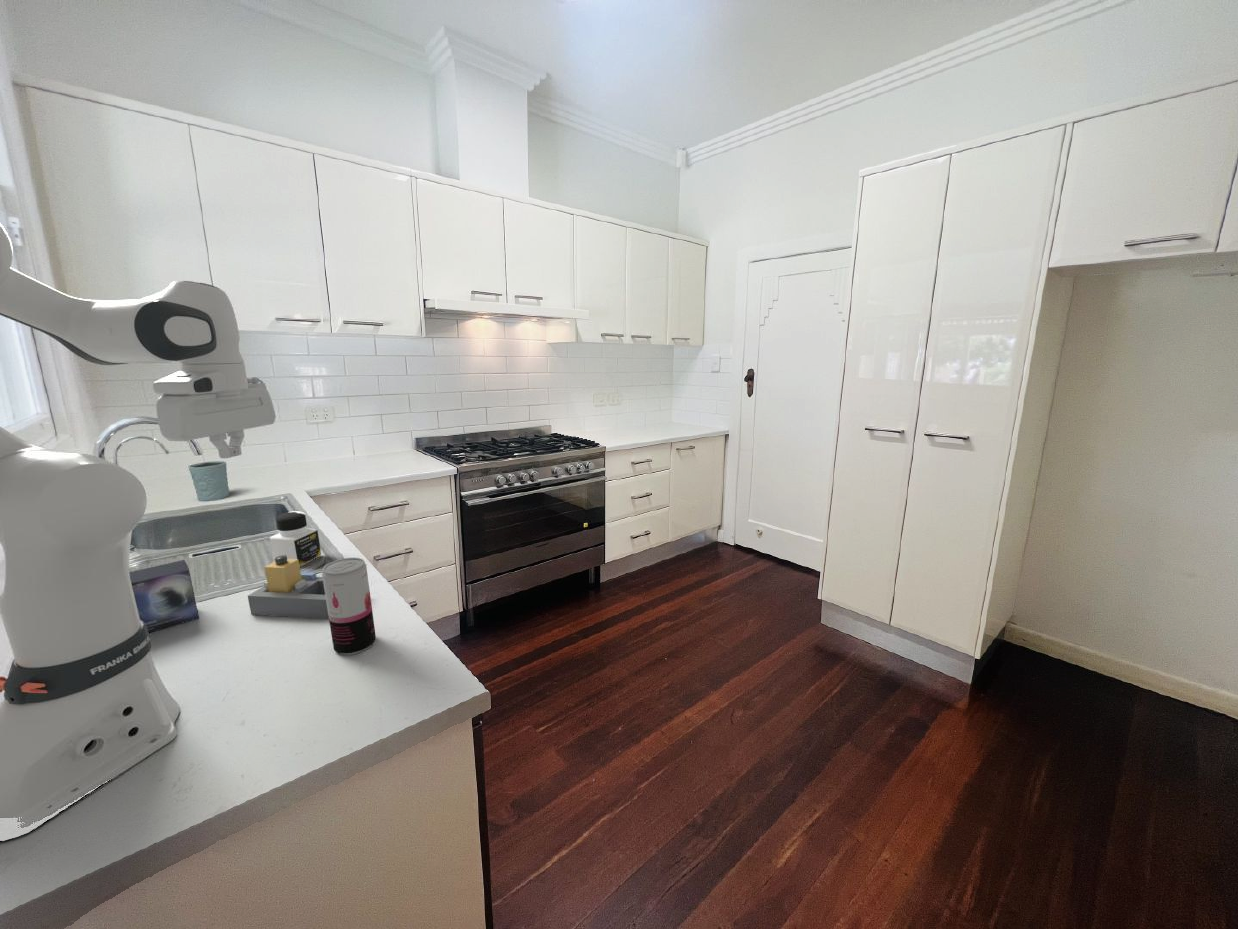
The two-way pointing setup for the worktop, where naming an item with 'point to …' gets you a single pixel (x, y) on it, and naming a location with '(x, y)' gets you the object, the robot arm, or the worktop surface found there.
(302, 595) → the grey compartment tray
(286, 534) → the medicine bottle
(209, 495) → the teal cup
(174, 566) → the small box
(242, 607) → the worktop surface
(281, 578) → the drawer with knob
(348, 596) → the beverage can
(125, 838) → the worktop surface
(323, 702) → the worktop surface
